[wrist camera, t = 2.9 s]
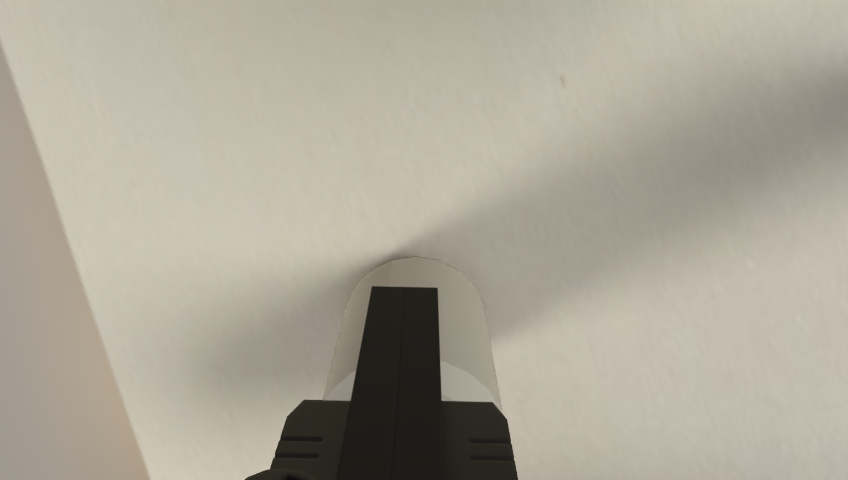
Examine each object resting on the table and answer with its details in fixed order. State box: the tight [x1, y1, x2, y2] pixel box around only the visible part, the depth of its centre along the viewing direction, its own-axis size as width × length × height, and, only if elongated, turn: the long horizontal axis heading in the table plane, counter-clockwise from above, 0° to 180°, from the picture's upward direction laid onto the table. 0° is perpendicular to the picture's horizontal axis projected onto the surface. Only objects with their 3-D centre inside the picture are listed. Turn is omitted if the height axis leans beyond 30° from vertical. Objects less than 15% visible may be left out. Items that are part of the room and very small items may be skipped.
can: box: [322, 257, 503, 414], centre depth 29 cm, size 8×8×12 cm
